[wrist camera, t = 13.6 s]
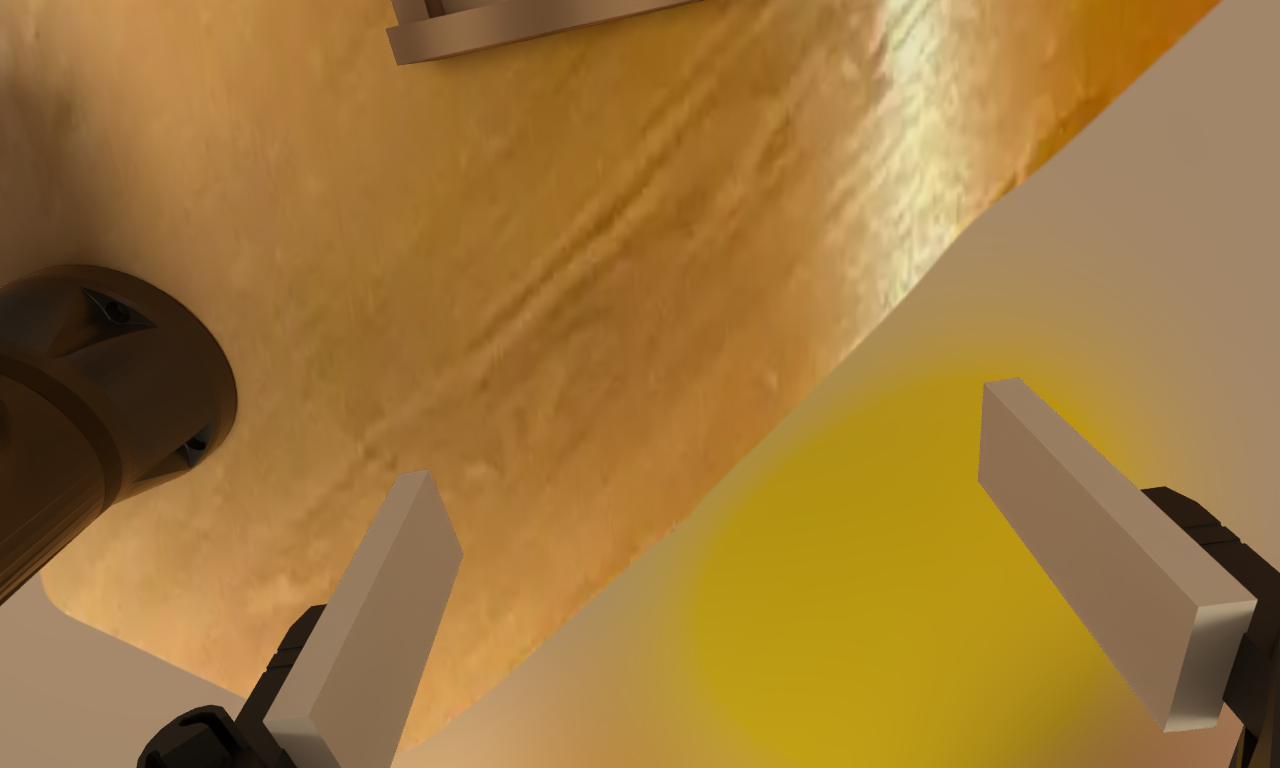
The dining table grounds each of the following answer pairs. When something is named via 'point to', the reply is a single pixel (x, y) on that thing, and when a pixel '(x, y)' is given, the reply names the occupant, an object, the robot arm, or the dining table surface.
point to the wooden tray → (497, 22)
